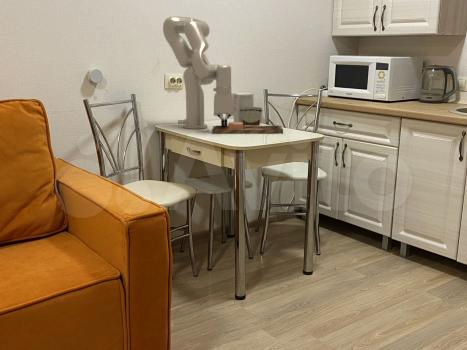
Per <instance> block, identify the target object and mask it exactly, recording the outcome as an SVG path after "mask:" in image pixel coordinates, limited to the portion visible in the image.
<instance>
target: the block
mask: <svg viewBox="0 0 467 350" xmlns="http://www.w3.org/2000/svg"><path fill="white" fill-rule="evenodd" d="M227 126H228V129H243V122H234V121H233V122H231V121H230V122H228V123H227Z"/></svg>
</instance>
